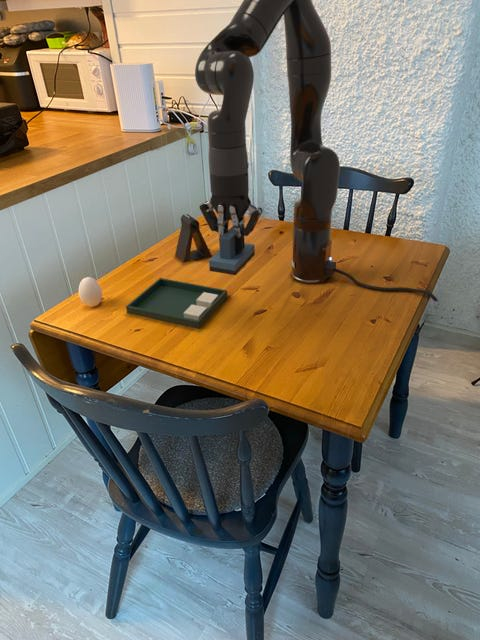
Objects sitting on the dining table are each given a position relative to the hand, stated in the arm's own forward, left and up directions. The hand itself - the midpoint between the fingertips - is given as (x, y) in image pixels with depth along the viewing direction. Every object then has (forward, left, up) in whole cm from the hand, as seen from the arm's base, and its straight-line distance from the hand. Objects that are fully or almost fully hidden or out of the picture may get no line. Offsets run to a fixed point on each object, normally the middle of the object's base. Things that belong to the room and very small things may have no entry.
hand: (232, 250), depth 100 cm
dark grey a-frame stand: (+25, -25, -17) cm, 39 cm away
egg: (+35, +8, -17) cm, 39 cm away
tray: (+15, +1, -16) cm, 22 cm away
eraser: (0, 0, -3) cm, 3 cm away
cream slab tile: (+8, +4, -16) cm, 18 cm away
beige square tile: (+8, -2, -16) cm, 18 cm away
